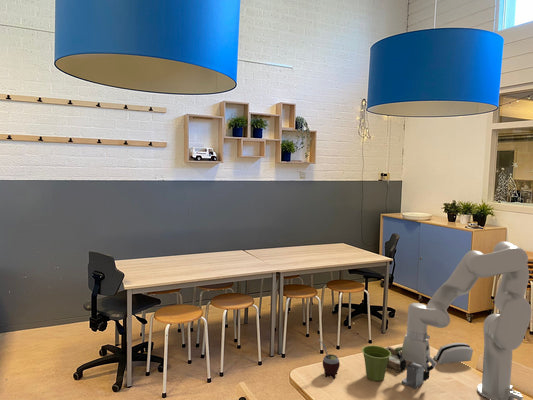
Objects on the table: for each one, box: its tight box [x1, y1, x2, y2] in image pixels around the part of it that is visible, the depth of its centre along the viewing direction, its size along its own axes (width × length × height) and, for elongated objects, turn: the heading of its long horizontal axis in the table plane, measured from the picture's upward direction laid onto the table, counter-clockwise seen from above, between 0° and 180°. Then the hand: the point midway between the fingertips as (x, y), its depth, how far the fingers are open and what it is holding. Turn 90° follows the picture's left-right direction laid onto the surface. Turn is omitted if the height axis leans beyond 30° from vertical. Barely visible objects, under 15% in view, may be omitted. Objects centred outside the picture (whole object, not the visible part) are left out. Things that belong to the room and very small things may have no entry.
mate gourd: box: [317, 339, 341, 380], centre depth 169 cm, size 8×8×15 cm
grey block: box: [401, 363, 425, 390], centre depth 164 cm, size 6×7×8 cm
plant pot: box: [361, 345, 391, 382], centre depth 168 cm, size 12×12×11 cm
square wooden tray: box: [385, 346, 413, 373], centre depth 181 cm, size 12×12×4 cm
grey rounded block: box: [432, 342, 474, 365], centre depth 183 cm, size 17×5×10 cm, turn 103°
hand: (414, 375), depth 163 cm, fingers open, 9 cm apart
